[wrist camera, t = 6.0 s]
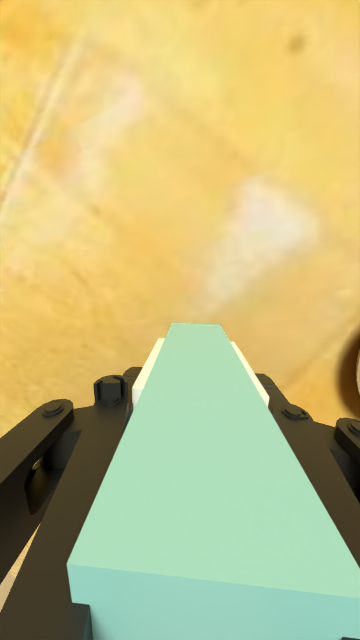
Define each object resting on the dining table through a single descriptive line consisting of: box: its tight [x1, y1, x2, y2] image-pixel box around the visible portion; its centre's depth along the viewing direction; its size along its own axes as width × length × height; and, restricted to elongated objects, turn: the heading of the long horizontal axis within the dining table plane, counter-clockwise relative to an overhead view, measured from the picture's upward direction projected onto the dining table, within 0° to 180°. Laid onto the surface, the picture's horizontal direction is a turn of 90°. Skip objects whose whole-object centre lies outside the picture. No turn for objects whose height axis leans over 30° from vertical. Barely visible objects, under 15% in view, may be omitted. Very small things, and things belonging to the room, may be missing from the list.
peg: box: [67, 322, 360, 640], centre depth 10 cm, size 4×4×14 cm
